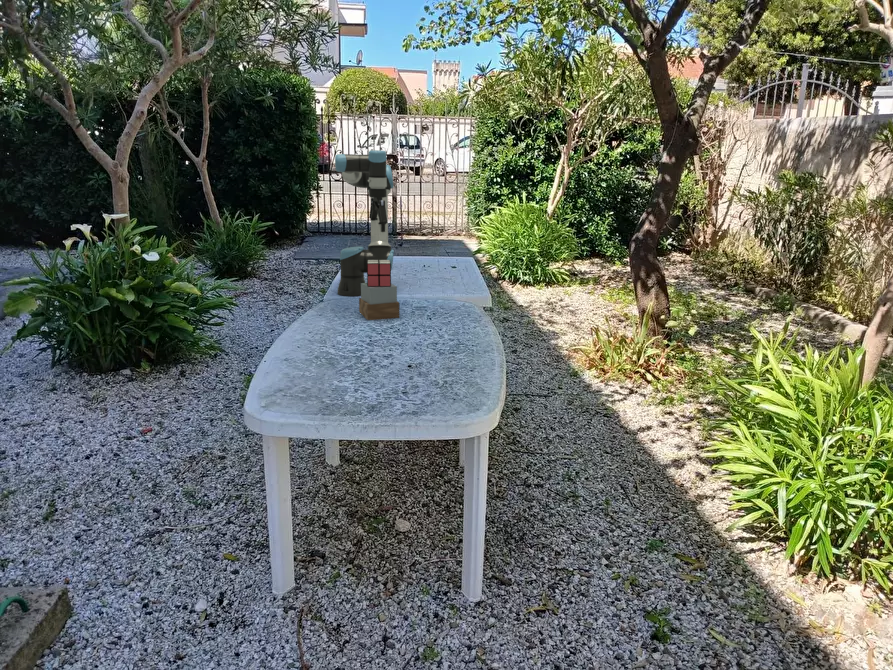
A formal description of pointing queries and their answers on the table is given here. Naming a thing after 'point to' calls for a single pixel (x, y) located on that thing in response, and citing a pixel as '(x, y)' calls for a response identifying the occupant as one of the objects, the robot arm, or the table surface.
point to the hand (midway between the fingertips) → (378, 237)
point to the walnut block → (379, 310)
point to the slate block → (378, 294)
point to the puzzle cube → (378, 273)
